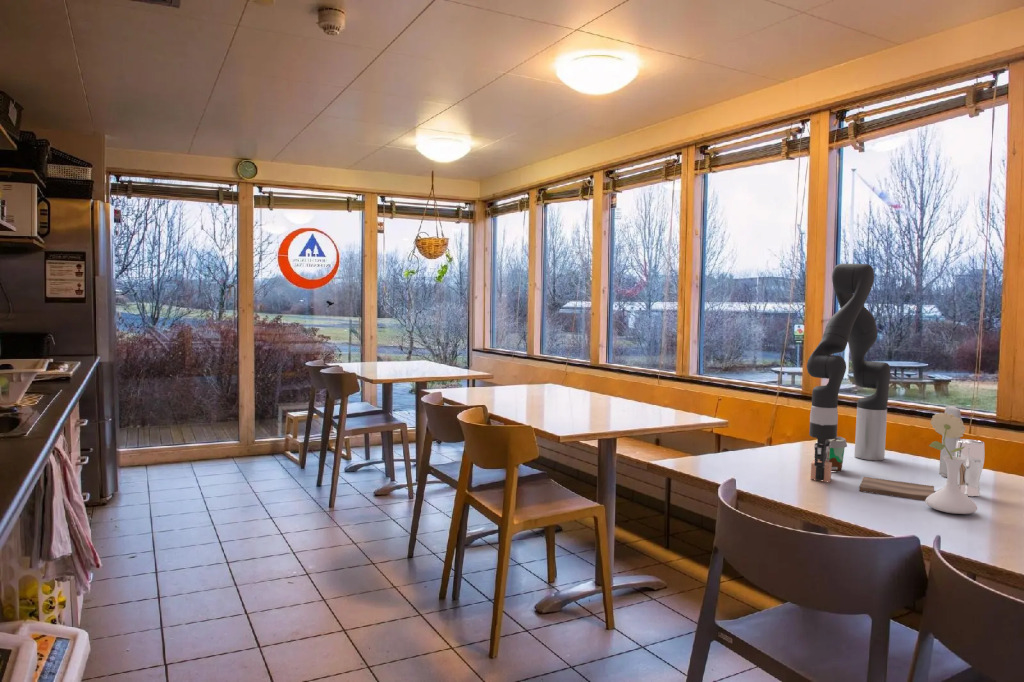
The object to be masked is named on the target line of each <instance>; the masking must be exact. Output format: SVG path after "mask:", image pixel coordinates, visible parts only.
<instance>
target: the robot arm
mask: <svg viewBox="0 0 1024 682" xmlns="http://www.w3.org/2000/svg"><path fill="white" fill-rule="evenodd" d="M831 279H832V281H831V282H832V287H833V290H834V294H835V296H836V299H837V302H838V304H839V307H840V309H838V310H837V312H835V313H834V314H833V315H832V316H831V317H830V319H829V320H828V322H827V323H826V325H825V328H824V331H823V334H822V337H821V340H820V341H819V343H818V345H817V346H816V347H815V349H814V350H813V352H812V353H811V354H810V356H809V358H808V359H807V363H806V370H807V373H808V374H809V376H811V377H812V378H817V379H818V378H819V379H828V382H827V384H826V385H816V386H814V387H813V389H812V392H811V394H812V395H811V408H810V414H809V433H808V435H809V436H810V437H811V438H815V439H817V440H816V442H815V443H814V457H813V458H814V460H815V463H814V465H815V467H816V480H824V468H825V462H828V460H829V450H830V441H828V439H836V438H837V436H838V423H839V422H838V421H839V420H838V419H839V414H838V413H839V411H838V404H839V403H838V400H839V393H840V388H841V385H842V382H843V379H844V377H845V374H846V371H847V363H846V360H845V359H844V358H843V356H841V355H837V354H838V353H842V352H844V351H845V350H846V348H847V345H848V347H849V351H850V359H851V367H852V375H853V380H854V381H853V382H854V383H855V385H856V386H857V387H858V388H859V387H860V388H863V389H864V388H865V389H874V390H875V393H874V394H872V395H869V396H865V397H861V398H858V399H857V401H856V405H857V406H856V421H855V422H856V423H855V439H854V440H855V441H854V454H853V455H854V457H855V458H858V459H862V460H868V461H883V460H885V456H886V454H885V453H886V440H887V439H886V435H887V422H888V421H887V418H888V417H887V416H888V402H889V392H890V389H889V388H890V384H891V383H890V382H891V381H890V380H891V367H890V364H889V363H888V362H884V361H883V362H882V361H870V360H869V361H868V360H865V356H866V354H867V353H868V352H869V350H870V349H871V348H872V347H873V345H875V342H876V341H877V340H878V339H877V338H878V330H877V329H878V328H877V323H876V318H875V316H874V315H873V314H872V312H871V311H870V310H868V308H866V307H865V306H864V304H865V303H866V302H867V299H868V297H869V295H870V292H871V290H872V288H873V285H874V280H875V272H874V268H873V266H872V265H870V264H866V263H839V264H836V265H835V266H834V267H833V270H832V273H831ZM834 354H835V355H834ZM818 461H822V463H820V462H818ZM816 480H815V481H816Z"/></svg>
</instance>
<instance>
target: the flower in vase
mask: <svg viewBox="0 0 1024 682" xmlns="http://www.w3.org/2000/svg"><path fill="white" fill-rule="evenodd" d="M929 423H930V425H931V426H932V429H934V431H935V432H936V433H938V435H941V436H942V435H944V438H943V444H944V445H943V444H942V442H939V441H938V440H935V441H932V442H931V443H930V444H928V447H930V448H933V449H936V450H938V451H941V450H942V449H943V448H944V447H945V449H946V450H947V452H948V454H949V455H950V456H942V458H943V459H944V461H945V463H946V465H947V478H946V479H947V480H946V483H945V485H944V486H943V487H942V488H940V489H939V490H936V491H934V493H933V494H931V495H929V496H928V497H927V498H926V500H924V502H925V504H926V505H927V506H928V507H930V508H932V509H934V510H935V511H936V510H937V511H940V512H943V513H948V514H955V515H957V514H958V515H968V514H973V513H976V512H977V511H978V506H977V504H976V503H975V502H974V501H973V500H972V498H971V497H968V496H967V495H965V494H964V493H963V492H962V491H961V490H960V489H959V487H958V472H959V468H960V466H961V464H962V463H963V462H964V461H965V459H964V458H961V457H955V456H951V454H950V453H951V452H957V451H960V450H962V449H963V448H964V447H965V446H964V447H960V448H956V449H954V450H952V451H951V452H949V451H948V449H947V447H946V445H945V437H949V438H954V437H955V438H958V437H960V438H962V437H964V434H965V432H966V431H967V429H966V426H965V425H964V421H963V420H962V421H960V418H956V417H954V415H953V414H950V415H949V414H948V413H945V412H944V413H943V412H940V413H935V414H934V415H932V418H931V419H930V422H929Z"/></svg>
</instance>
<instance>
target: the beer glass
mask: <svg viewBox="0 0 1024 682" xmlns="http://www.w3.org/2000/svg"><path fill="white" fill-rule="evenodd" d="M964 446H965V447H964ZM960 447H964V448H963V449H962V450H960V451H957V452H955V457H961V458H964V459H965V461H964V462H963V463H962V464H961V466H960V468H959V472H958V487H959V489H960V490H961V491H962V492H963V493H964V494H965V495H967V496H979V497H981V491H980V479H981V476H982V473H983V468H984V464H985V455H986V454H985V442H984V441H982V440H977V439H967V438H960V439H957V441H956V447H955V449H956V448H960Z"/></svg>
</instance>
